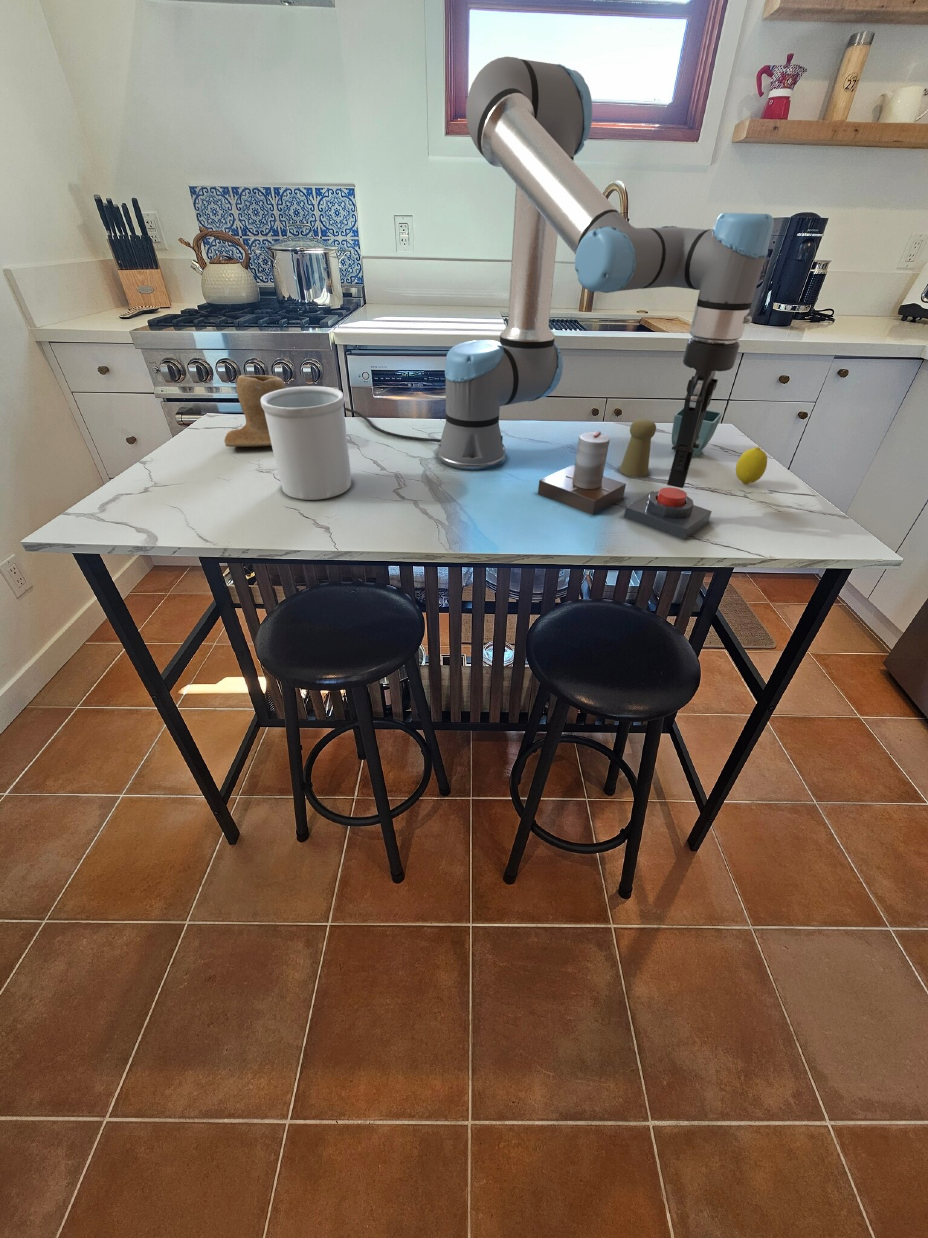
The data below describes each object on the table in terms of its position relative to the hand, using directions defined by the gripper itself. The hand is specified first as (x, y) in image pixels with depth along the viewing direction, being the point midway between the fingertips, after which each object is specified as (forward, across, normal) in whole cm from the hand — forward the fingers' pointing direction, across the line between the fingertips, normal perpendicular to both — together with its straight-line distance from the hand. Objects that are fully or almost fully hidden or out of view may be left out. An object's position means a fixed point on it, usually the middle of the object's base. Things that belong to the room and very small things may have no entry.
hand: (675, 484), depth 97 cm
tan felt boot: (+7, -10, +92) cm, 92 cm away
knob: (+4, +1, +16) cm, 17 cm away
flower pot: (+7, +38, +3) cm, 39 cm away
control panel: (+7, +2, +17) cm, 19 cm away
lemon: (+7, +25, -11) cm, 28 cm away
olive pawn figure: (+7, +20, +11) cm, 24 cm away
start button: (+3, 0, 0) cm, 3 cm away
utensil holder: (+7, -22, +65) cm, 69 cm away
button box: (+7, 0, 0) cm, 7 cm away
